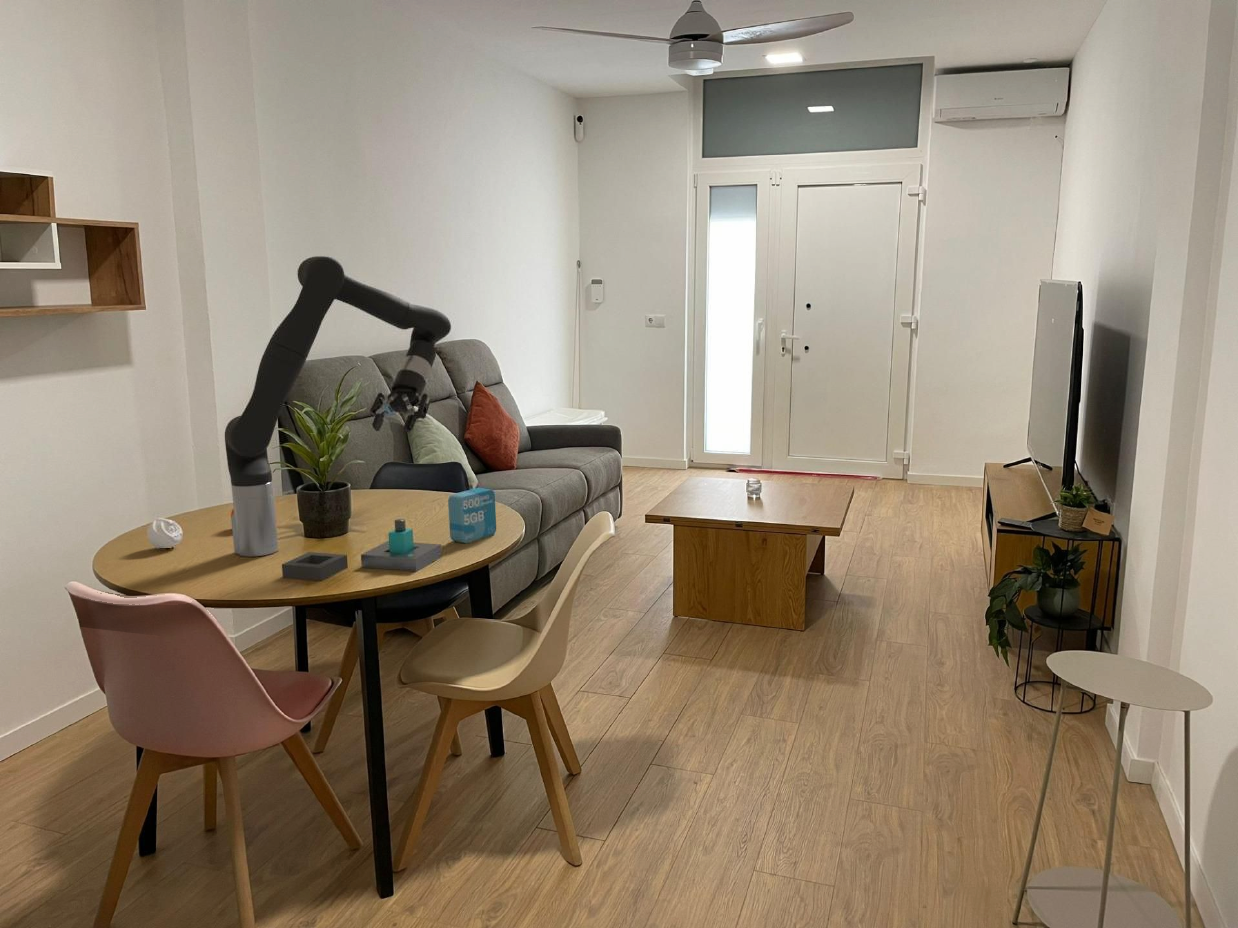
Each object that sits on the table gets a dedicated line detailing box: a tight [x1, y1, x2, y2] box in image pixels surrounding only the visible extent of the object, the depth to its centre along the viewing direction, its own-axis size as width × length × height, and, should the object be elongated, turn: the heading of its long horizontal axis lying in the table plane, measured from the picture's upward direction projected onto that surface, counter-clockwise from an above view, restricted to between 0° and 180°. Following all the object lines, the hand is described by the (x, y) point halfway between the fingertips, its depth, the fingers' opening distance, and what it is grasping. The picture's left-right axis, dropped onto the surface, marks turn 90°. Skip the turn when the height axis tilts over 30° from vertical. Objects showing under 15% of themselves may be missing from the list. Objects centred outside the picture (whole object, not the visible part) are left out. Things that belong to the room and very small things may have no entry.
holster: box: [281, 551, 348, 582], centre depth 210 cm, size 10×10×3 cm
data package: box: [447, 487, 497, 544], centre depth 235 cm, size 12×4×12 cm, turn 143°
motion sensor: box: [146, 517, 183, 549], centre depth 231 cm, size 8×8×8 cm
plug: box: [387, 518, 414, 554], centre depth 216 cm, size 4×4×10 cm
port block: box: [360, 540, 443, 573], centre depth 216 cm, size 14×12×3 cm
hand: (391, 429), depth 227 cm, fingers open, 8 cm apart
